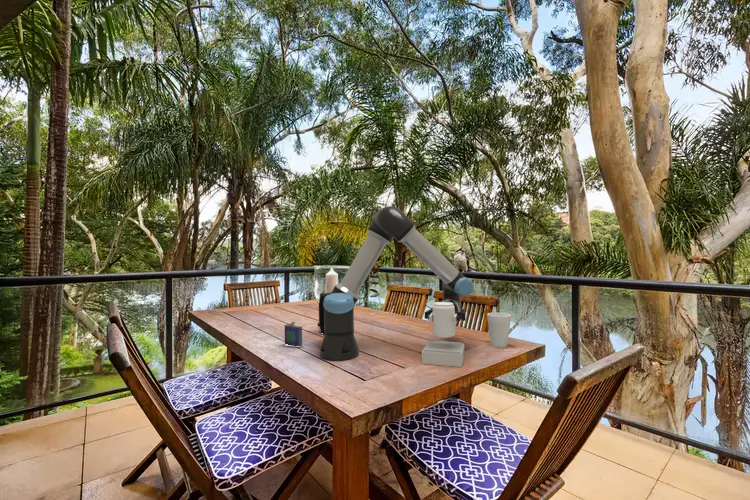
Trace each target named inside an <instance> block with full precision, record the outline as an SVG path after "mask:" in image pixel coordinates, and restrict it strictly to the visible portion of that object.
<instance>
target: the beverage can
mask: <svg viewBox="0 0 750 500" xmlns="http://www.w3.org/2000/svg"><path fill="white" fill-rule="evenodd" d="M432 308H433V322H432V334H433V335H434V336H436V337H437V338H451V337H453V336H455V335H456V325H453V317H454V315H455V307H454V305H453V303H451V302H443V301H437V302H435V301H434V303H433V305H432Z"/></svg>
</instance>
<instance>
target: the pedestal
mask: <svg viewBox="0 0 750 500" xmlns="http://www.w3.org/2000/svg"><path fill="white" fill-rule="evenodd" d="M464 358H465V343H463V342H459V341H457V342H456V341H446V340H445V341H444V340H443V341H441V340H428V341H427V343H426V344H425V346H424V347H423V349H422V350H421V364H422V365H423V364H424V365H433V366H434V365H435V366H445V367H455V368H462V366H463V363H464Z"/></svg>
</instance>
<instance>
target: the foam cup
mask: <svg viewBox="0 0 750 500" xmlns="http://www.w3.org/2000/svg"><path fill="white" fill-rule="evenodd" d="M486 317H487V319H486V320H487V323H488V331H489V338H490V344H491V346H492V347H494V348H507V347H508V342H509V335H510V327H511V321H512V315H511V314H509V313H508V312H506V313H505V312H488V313H487V315H486Z"/></svg>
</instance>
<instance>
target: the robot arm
mask: <svg viewBox="0 0 750 500" xmlns="http://www.w3.org/2000/svg"><path fill="white" fill-rule="evenodd" d="M366 232H367V237H366V238H365V240H364V242H363V244H362V245H361V247H360V249H359V251H358V253H357V254H356V255H355V257H354V259H353V261H352V263H351V265H350V266H349V268H348V269H347V271H346V273H345V275H344V277H343V279H342V280H341V282H340V283H337V284H335V285H334V287H333V289H332V290H331V291H330V292H331V294H330V295H327V296H326V297H325V298H324V303H323V306H324V335H323V338H322V343H321V346H320V348H319V356H321V357H320V358H322V357H323V358H322V359H324V358H325V359H324V360H327V359H329V360H328V361H347V360H351V359H355V358H356V357H358V356H359V354H360V353H359V352H360V351H359V350H360V349H359V346H358V342H357V339H356V337H355V319H354V317H355V316H354V315H355V314H354V310H355V306H356V304H357V302H358V300H359V299H360V298H359V291H360V290H361V289H362V286H363V285H364V283H365V281H366V280H367V278H368V276H369V274H370V273H371V271H372V269H373V267H374V266H375V264H376V263H377V261H378V258H379V257H380V255H381V254H382V251H383V250H384V248H385V246H386V245H387V246H388V245H390V244H392V242H393V240H394V239H395V240H396V241H397V242H398V243H402V244H403V245H404V246H406V248H407V249H409V251H411V252H412V253H413V254H414V255H415V256H416V258H418V259H419V260H420V261H421V262H422V263H423V264H424V265H425V266H426V267H427V268H428V269H429V270H431V272H433V273H434V275H436V276H437V277H438V278H439V279H440V280H441V281H442V282H441V283H442V302H451V303H453V305H454V307H455V315H454V317H453V325H455V326H456V324H457V322H460V321H461V320H462V321H463V322H465V321H466V320H467V319H466V310H465V309H463V308H462V309H461V307H462V302H461V297H464V298H465V297H470V295H471V294H473V292H474V289H475V286H474V282H473V281H472V280H471V279H469V277H466V276H464V275H463V273H462V272H461V271H459V270H458V268H456V267H455V266H454V265H453V264H452V263H451V262H450V261H449V260H448V259H447V258H446V257H445V256H444V255H443V254H442V253H441V252H440V251H439V250H438V249H437V247H435V246H434V245H433V244H432V243H430V242H429V240H428V239H426V238H425V236H424V235H422V234H421V233H420V231H418V230H417V229H416V224H415V223H414V222H413V221H412V220H411V219H410V218H409V217H408V216H407V215H406V214H405V213H404V212H403V211H402V210H401V209H400V208H398V207H396V206H391V205H388V206H384V207H383V208H381V209H379V210H378V211H377V212H376V213H375V214H374V216H373V217H372V221H371V223H370V225H369V226H368V227H367V230H366ZM424 320H428V324H433V307H430V309H428V310H426V311H424Z"/></svg>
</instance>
